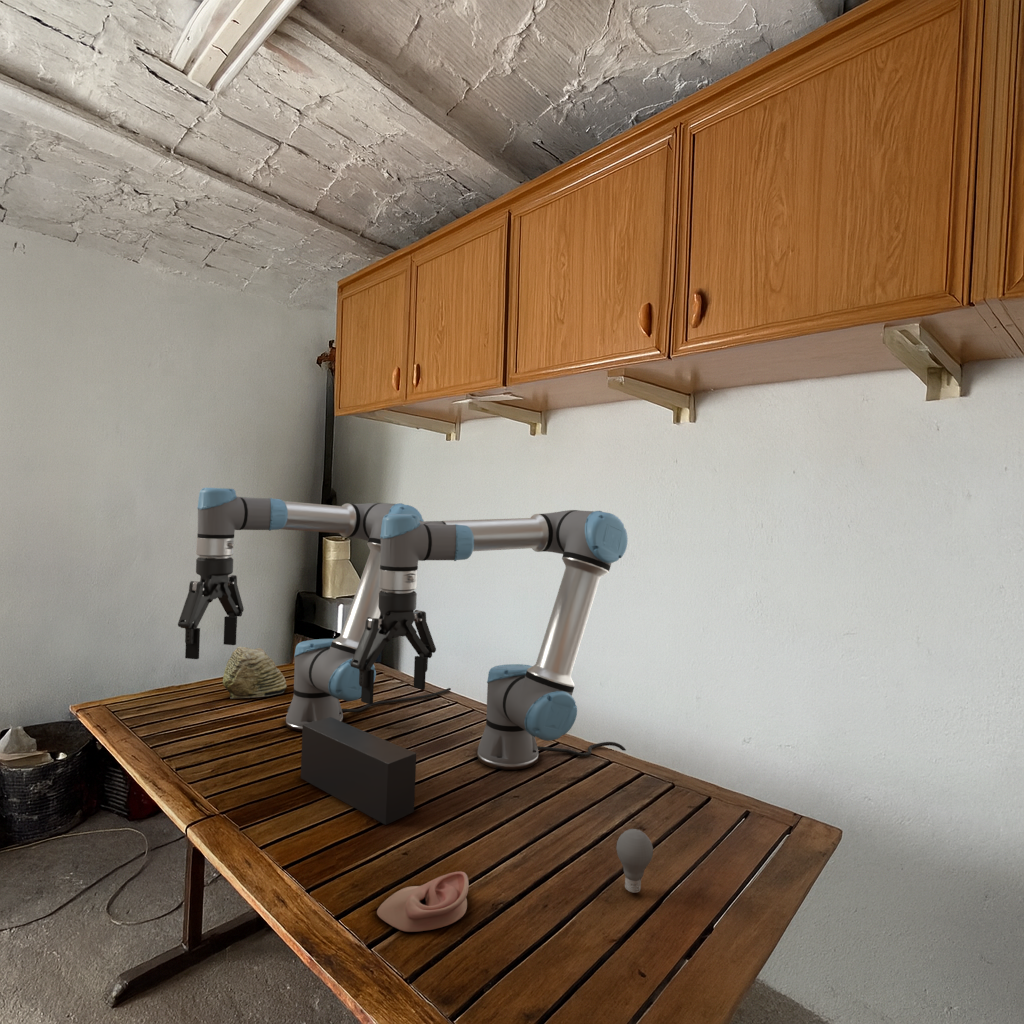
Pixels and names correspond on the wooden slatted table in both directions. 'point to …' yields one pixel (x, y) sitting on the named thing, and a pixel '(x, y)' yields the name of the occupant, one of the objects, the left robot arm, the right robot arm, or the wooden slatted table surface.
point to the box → (359, 769)
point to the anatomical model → (427, 904)
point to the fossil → (252, 674)
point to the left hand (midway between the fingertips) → (211, 651)
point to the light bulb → (634, 857)
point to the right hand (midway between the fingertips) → (394, 695)
